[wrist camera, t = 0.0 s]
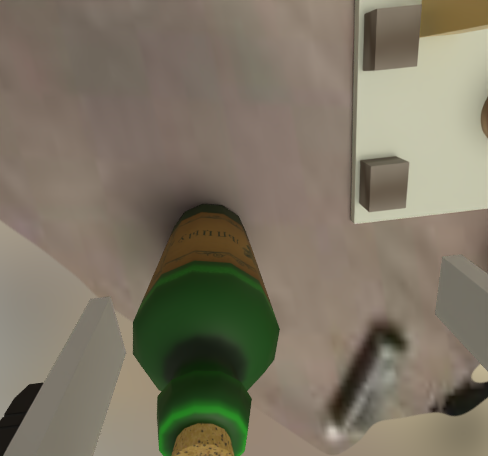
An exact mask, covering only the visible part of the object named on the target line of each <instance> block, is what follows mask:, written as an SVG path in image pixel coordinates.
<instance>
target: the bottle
mask: <svg viewBox="0 0 488 456" xmlns="http://www.w3.org/2000/svg"><path fill="white" fill-rule="evenodd" d="M279 330H280V329H279V326H278V323H277V320H276V317H275V314H274V312H273V309H272V306H271V303H270V300H269V297H268V294H267V291H266V288H265V286H264V283H263V280H262V277H261V274H260V271H259V268H258V265H257V262H256V260H255V257H254V254H253V251H252V248H251V245H250V242H249V239H248V237H247V234H246V231H245V229H244V227H243V225H242V223H241V221H240V219H239V216H237V215H236V214H234V213H233V212H231V211H230V210H228V209H227V208H225V207H224V206H221V205H209V204H202V205H199V206H197V207H195V208H193V209H190V210H188V211H186V212H185V213H184V214H183V215H182V217H181V218H180V220H179V221H178V222H177V224H176V225H175V227H174V229H173V231H172V234H171V236H170V238H169V241H168V243H167V245H166V247H165V250H164V252H163V254H162V257H161V259H160V261H159V264H158V266H157V268H156V271H155V273H154V275H153V277H152V280H151V282H150V284H149V287H148V289H147V291H146V294H145V296H144V298H143V300H142V303H141V305H140V307H139V310H138V312H137V314H136V317H135V319H134V321H133V355H134V356H135V358H136V359H137V360H138V362H139V363H140V365H141V366H142V367H143V369H144V370H145V372H146V373H147V374H148V376H149V377H150V379H151V380H152V381H153V383H154V384H155V385H156V387H157V388H158V389H159V390H160V391H162V392H161V393H160V394H159V395H158V400H157V422H158V423H157V424H158V440H159V451H160V452H161V453H162V455H163V456H240V455H241V454H242V453H243V452H244V451H245V445H246V439H247V431H248V423H249V416H250V408H251V400H252V399H251V397H250V395H249V394H248V392H247V391H248V389H249V388H250V387H251V386H252V385H253V384H254V383H255V382H256V381H257V380H258V379H259V378H260V376H261V375H262V374H263V373H264V372H265V371H266V370H267V368H268V367H269V366H270V364H271V363H272V362H273V360H274V358H275V352H276V347H277V341H278V336H279Z"/></svg>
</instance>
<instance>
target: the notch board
mask: <svg viewBox="0 0 488 456" xmlns="http://www.w3.org/2000/svg"><path fill="white" fill-rule="evenodd" d="M421 11H422V4H419V5H409V6H399V7H389V8H379V9H375V10H373V11H370V12H368V13H365V14H364V44H363V71H377V70H387V69H396V68H406V67H416V66H417V61H418V49H419V36H420V24H421ZM408 174H409V162H408V161H406V160H404V159H401V158H399V157H397V156H394V157H384V158H375V159H366V160H360V188H359V204H360V205H362V206H363V207H364V208H365V209H366V210H367V211H368V212H376V211H385V210H393V209H402V208H406V199H407V186H408Z"/></svg>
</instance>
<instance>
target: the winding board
mask: <svg viewBox="0 0 488 456" xmlns="http://www.w3.org/2000/svg"><path fill="white" fill-rule="evenodd" d="M419 4H422V0H355V28H354V81H353V133H352V186H351V221H352V222H353V223H354V224H358V223H367V222H376V221H384V220H393V219H401V218H410V217H419V216H427V215H436V214H444V213H453V212H462V211H470V210H479V209H487V208H488V138H487V137H486V135H485V134H484V132H483V130H482V127H481V112H482V108H483V105H484V103H485V101H486V99H487V97H488V29H483V30H477V31H471V32H466V33H460V34H451V35H441V36H431V37H421V38H419V49H418V61H417V66H416V67H406V68H396V69H387V70H377V71H363V44H364V14H365V13H368V12H370V11H373V10H375V9H379V8H389V7H399V6H409V5H419ZM394 156H397V157H399V158H401V159H404V160H406V161H408V162H409V174H408V186H407V199H406V208H402V209H393V210H385V211H376V212H368V211H367V210H366V209H365V208H364V207H363V206H362V205H360V204H359V188H360V160H366V159H375V158H384V157H394Z"/></svg>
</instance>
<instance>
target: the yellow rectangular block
mask: <svg viewBox="0 0 488 456" xmlns="http://www.w3.org/2000/svg"><path fill="white" fill-rule="evenodd" d="M483 29H488V0H422V11H421V24H420V36H419V38H421V37H431V36H441V35H451V34H460V33H466V32H471V31H477V30H483Z"/></svg>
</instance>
